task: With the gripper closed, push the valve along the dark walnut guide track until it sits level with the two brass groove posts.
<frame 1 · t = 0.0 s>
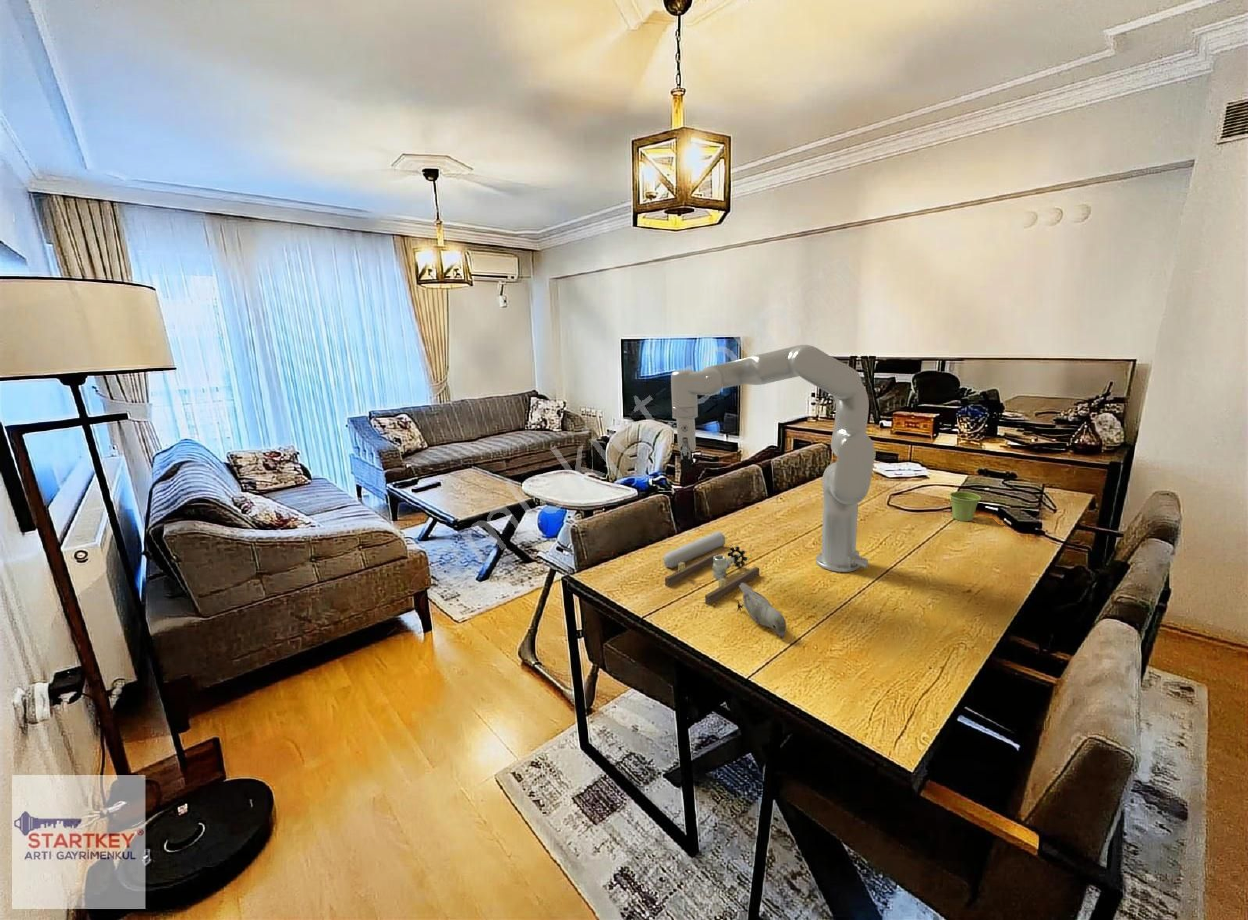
hand: (686, 467, 157), 31 cm above the table, tool pointing down, fingers open, 9 cm apart
guide track: (712, 580, 151), on the table
valve: (727, 573, 156), on the table
decorative bird: (761, 623, 129), on the table
tube: (694, 557, 168), on the table
plant pot: (962, 519, 185), on the table
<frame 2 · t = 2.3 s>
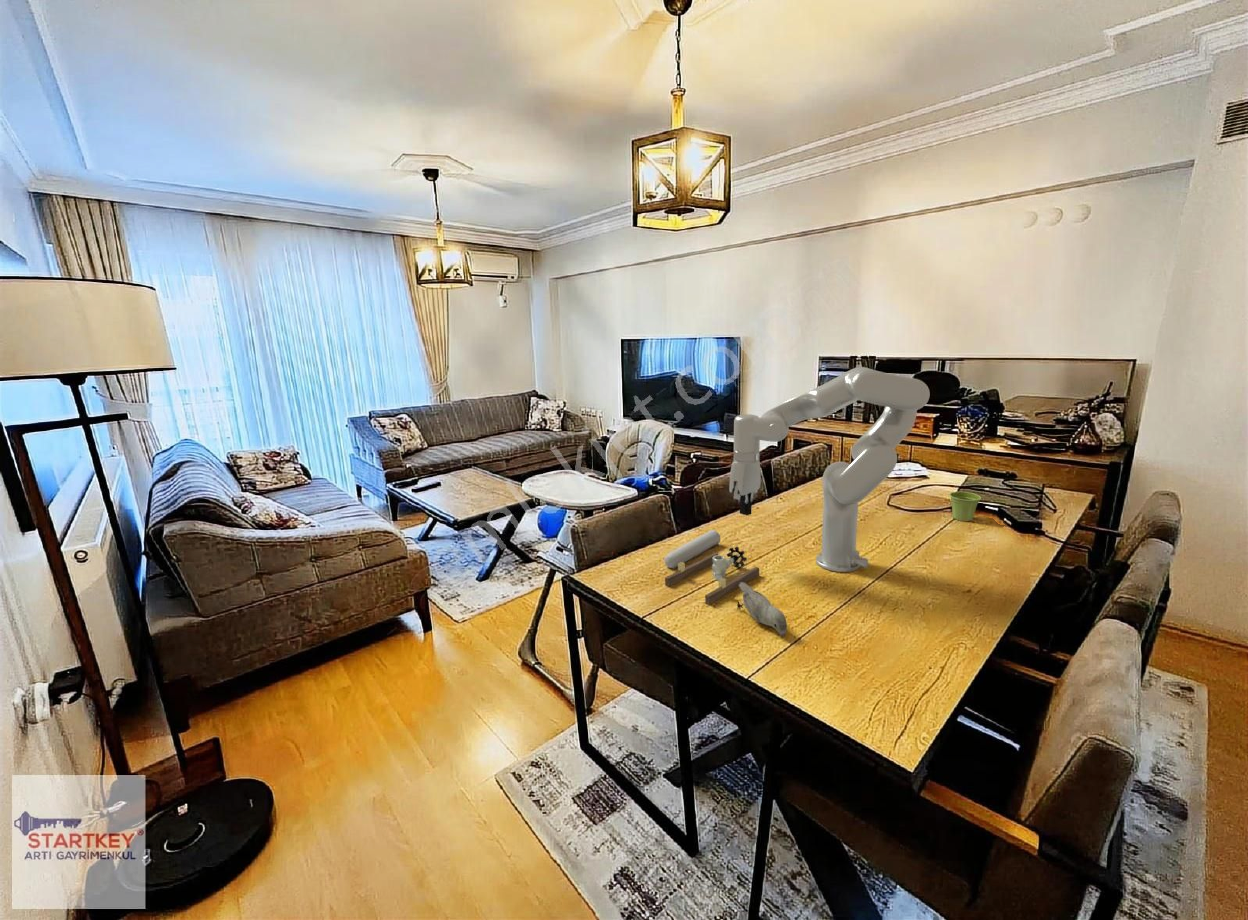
hand: (745, 513, 158), 16 cm above the table, tool pointing down, fingers closed
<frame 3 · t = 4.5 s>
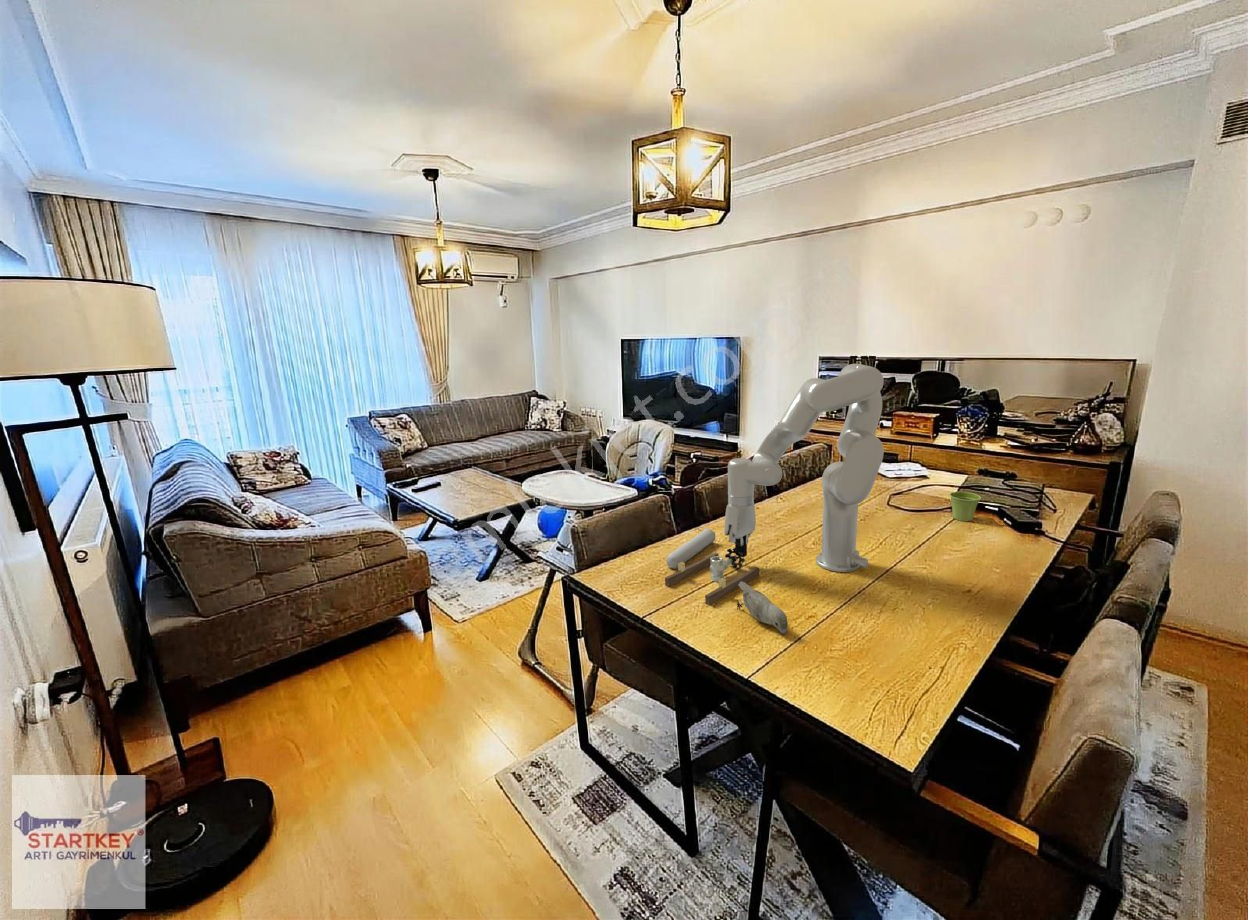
hand: (741, 555, 159), 3 cm above the table, tool pointing down, fingers closed
valve: (724, 574, 155), on the table, touching gripper
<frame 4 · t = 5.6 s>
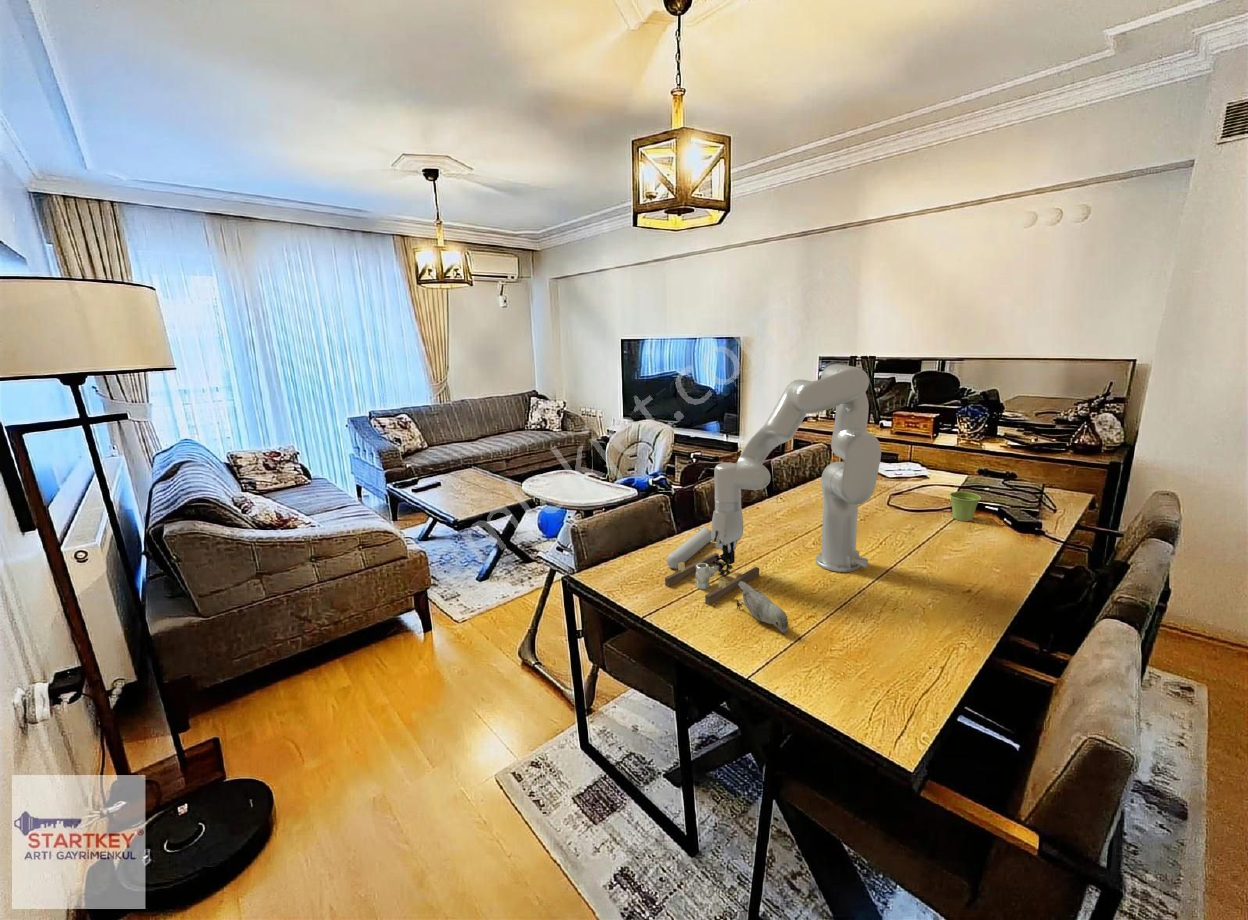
hand: (728, 562, 155), 3 cm above the table, tool pointing down, fingers closed
valve: (711, 582, 151), on the table, touching gripper
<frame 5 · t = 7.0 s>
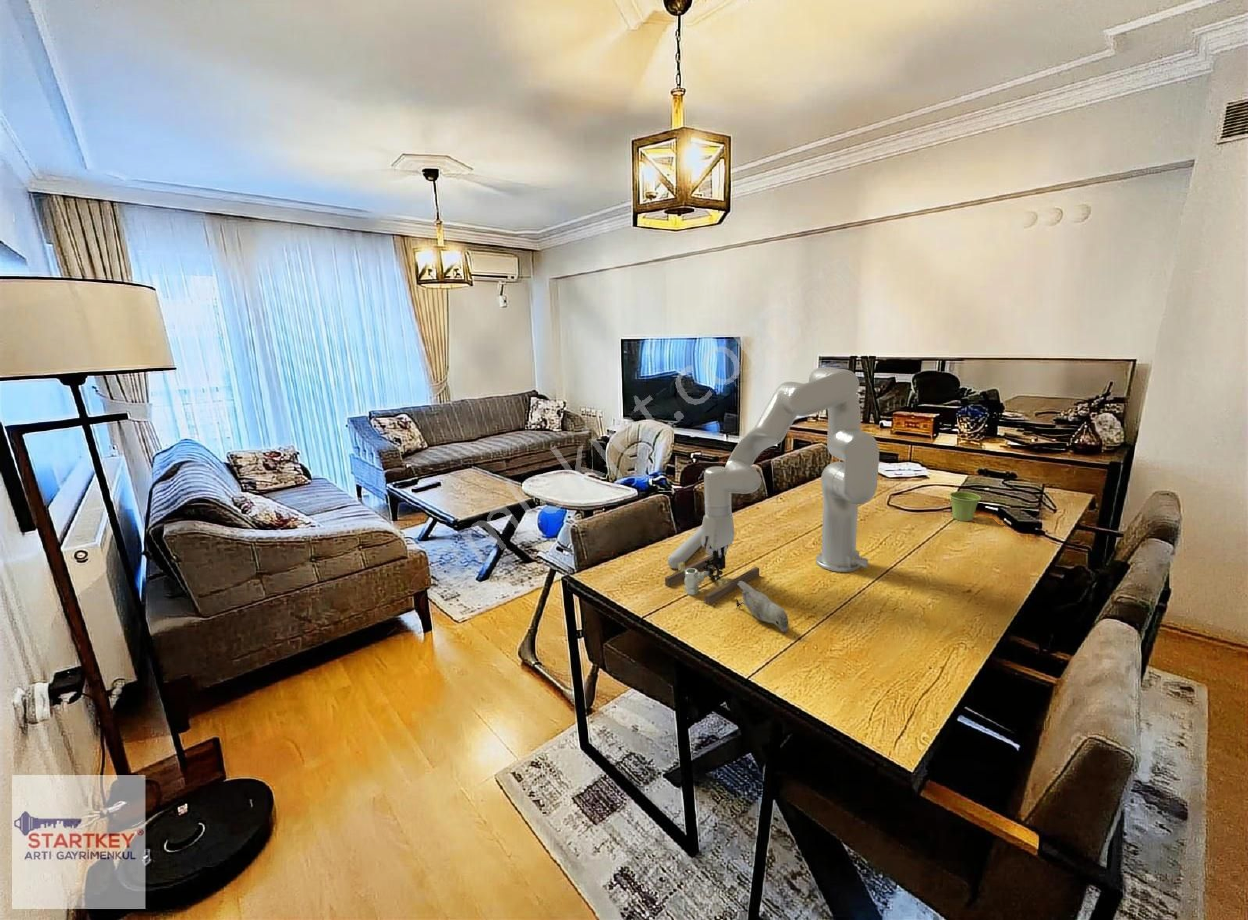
hand: (719, 567, 152), 3 cm above the table, tool pointing down, fingers closed
valve: (701, 587, 148), on the table, touching gripper
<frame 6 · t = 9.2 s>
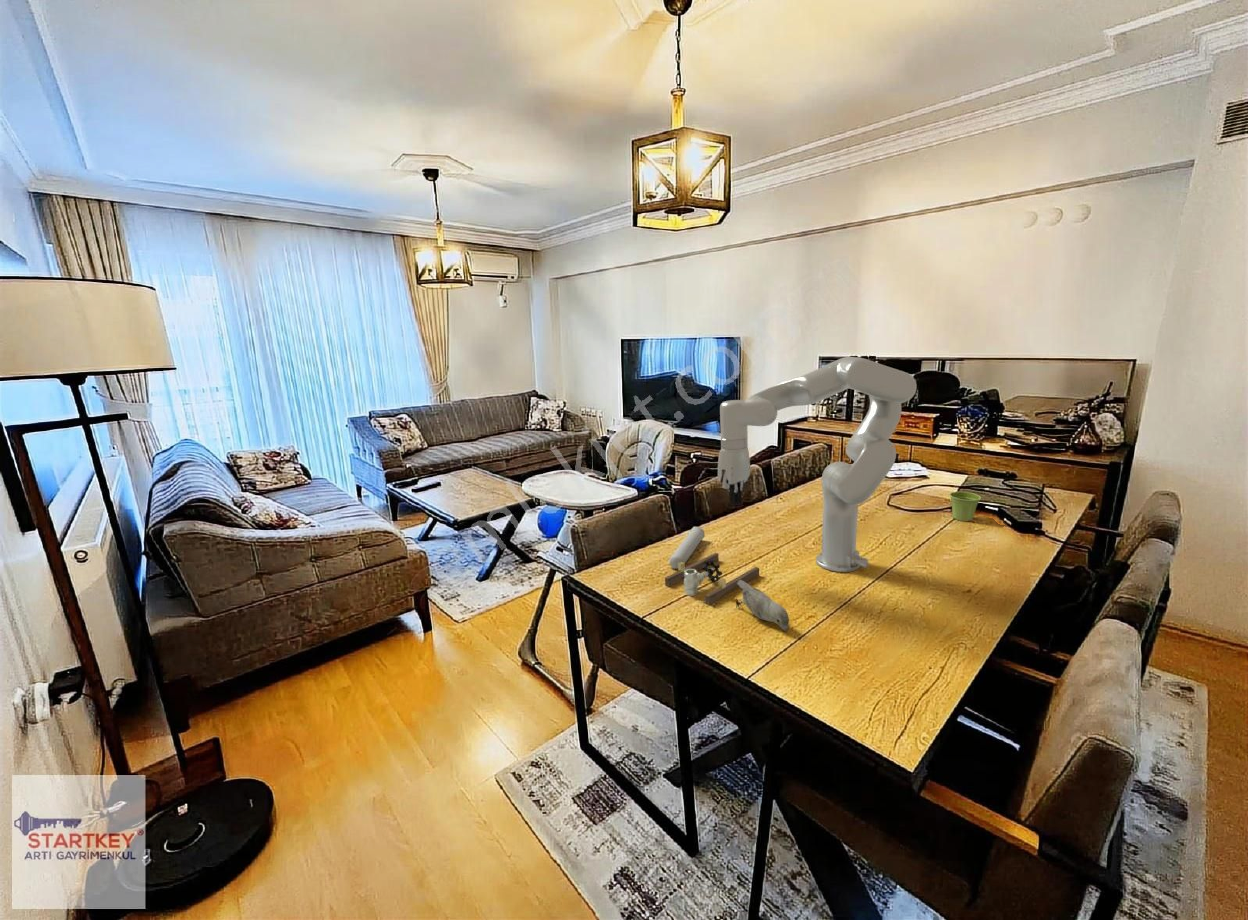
hand: (735, 503, 152), 21 cm above the table, tool pointing down, fingers closed
valve: (700, 588, 148), on the table
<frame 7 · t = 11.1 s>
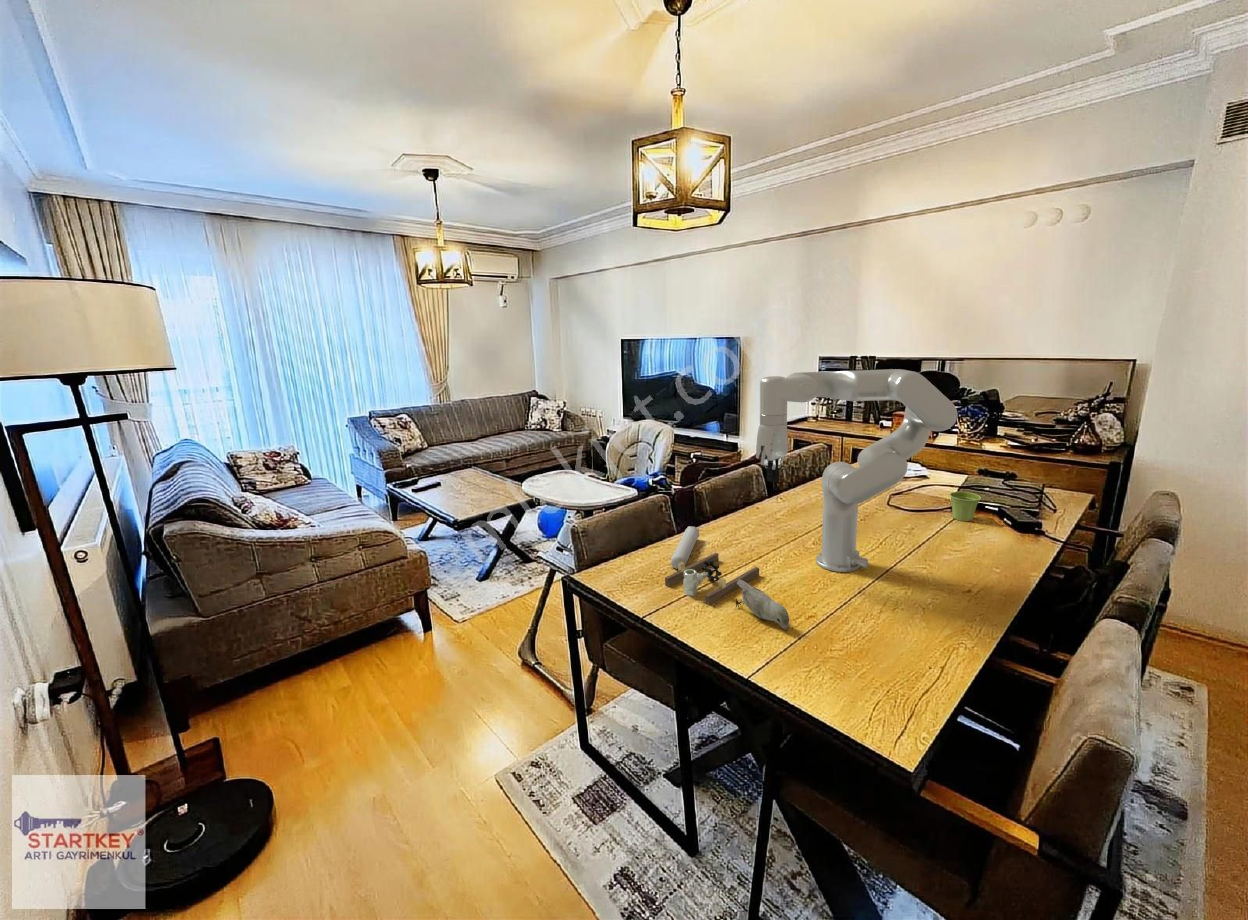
hand: (772, 480, 152), 27 cm above the table, tool pointing down, fingers closed
at the end: valve inside the target area (0.6 cm from its centre), on the table; valve tilted 0° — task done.
